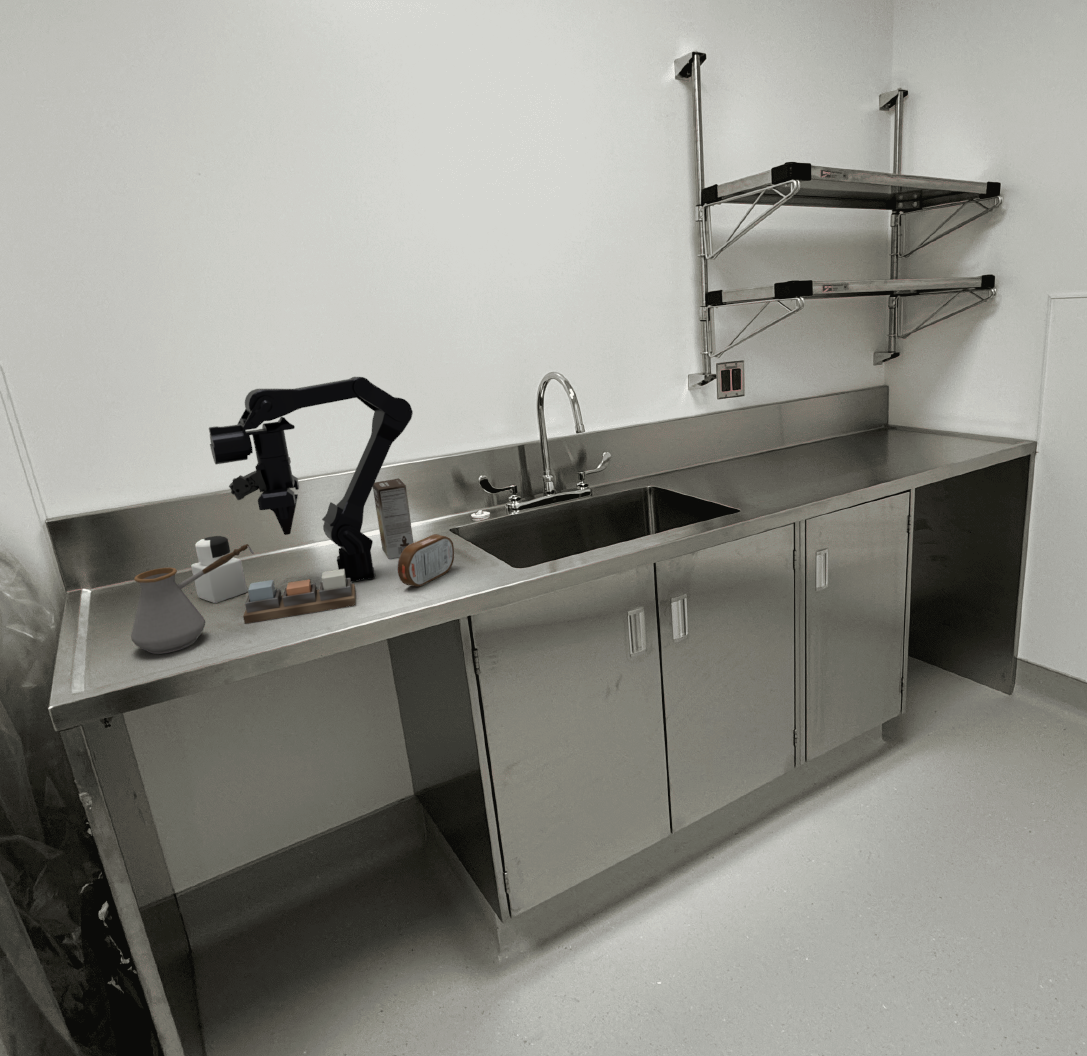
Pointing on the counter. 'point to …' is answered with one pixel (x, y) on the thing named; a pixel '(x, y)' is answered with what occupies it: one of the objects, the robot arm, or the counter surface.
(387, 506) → the coffee box
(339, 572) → the white button
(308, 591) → the terracotta button
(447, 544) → the tin
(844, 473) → the counter surface
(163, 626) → the coffee pot
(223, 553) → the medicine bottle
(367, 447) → the robot arm
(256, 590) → the slate button
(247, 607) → the button panel
